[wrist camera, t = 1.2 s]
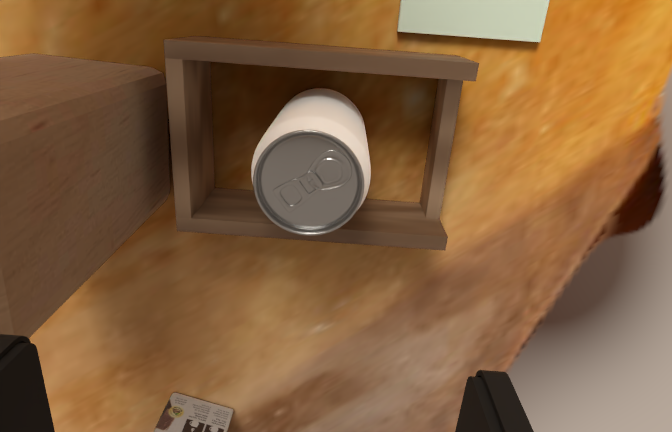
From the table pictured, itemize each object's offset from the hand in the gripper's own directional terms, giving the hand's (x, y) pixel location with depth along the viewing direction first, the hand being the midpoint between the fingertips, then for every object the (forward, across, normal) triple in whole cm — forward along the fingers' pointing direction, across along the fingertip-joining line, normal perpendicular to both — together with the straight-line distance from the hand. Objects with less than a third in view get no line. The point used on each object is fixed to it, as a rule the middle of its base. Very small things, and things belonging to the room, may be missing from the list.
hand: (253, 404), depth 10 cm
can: (+27, 0, 0) cm, 27 cm away
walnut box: (+26, 0, 0) cm, 26 cm away
